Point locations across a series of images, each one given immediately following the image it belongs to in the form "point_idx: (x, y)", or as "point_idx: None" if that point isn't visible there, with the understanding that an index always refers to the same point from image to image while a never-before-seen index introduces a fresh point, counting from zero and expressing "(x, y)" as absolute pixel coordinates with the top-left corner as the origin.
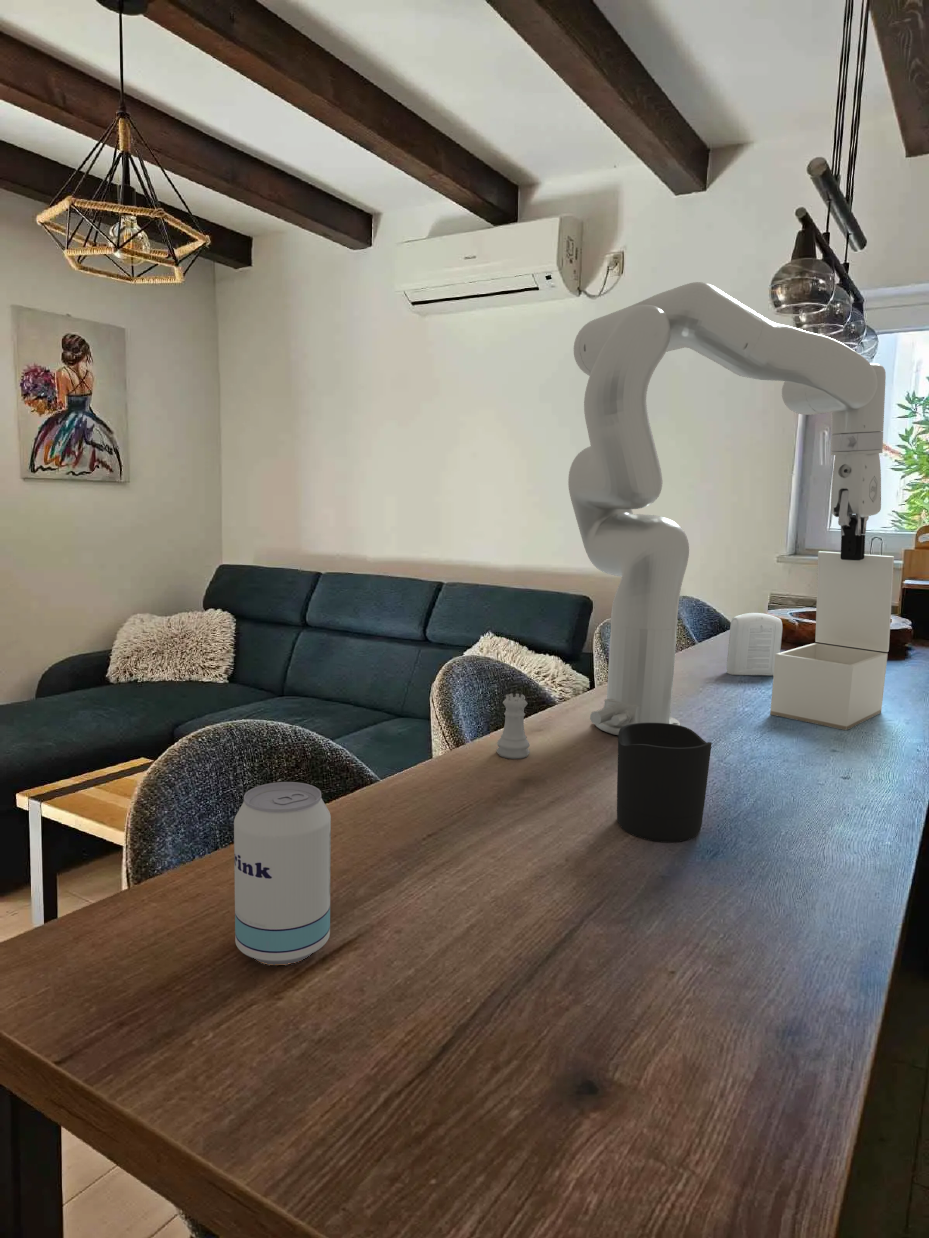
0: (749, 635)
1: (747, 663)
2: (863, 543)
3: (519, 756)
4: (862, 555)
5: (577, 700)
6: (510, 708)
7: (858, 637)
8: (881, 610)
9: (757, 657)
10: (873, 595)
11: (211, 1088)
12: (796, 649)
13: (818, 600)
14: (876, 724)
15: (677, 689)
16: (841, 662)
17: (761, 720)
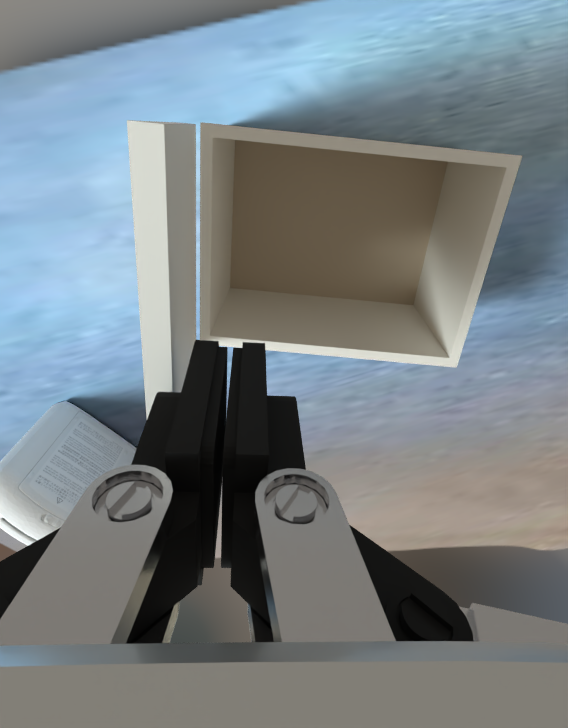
0: None
1: (118, 454)
2: (206, 404)
3: None
4: (220, 354)
5: (514, 543)
6: None
7: (194, 230)
8: (189, 164)
9: (94, 451)
10: (186, 214)
11: None
12: (347, 349)
13: None
14: (354, 105)
15: (335, 480)
16: (217, 252)
17: (475, 307)
